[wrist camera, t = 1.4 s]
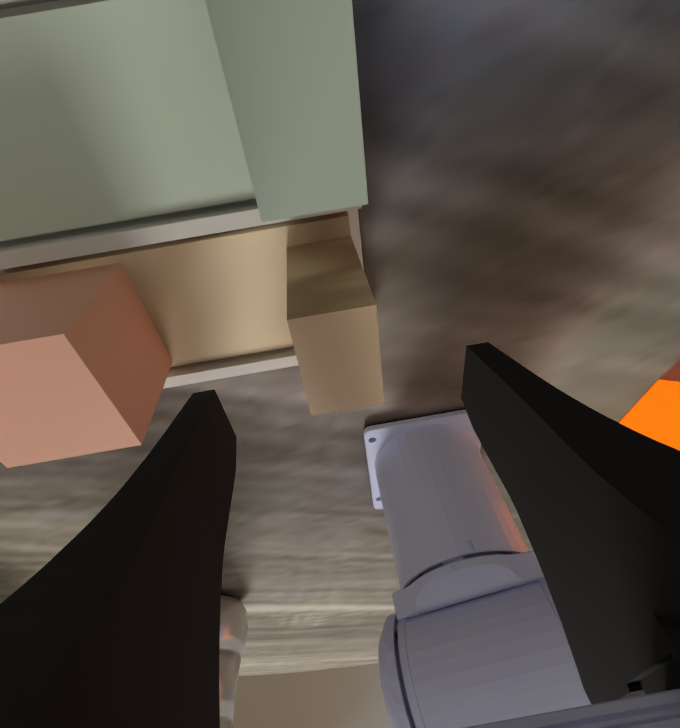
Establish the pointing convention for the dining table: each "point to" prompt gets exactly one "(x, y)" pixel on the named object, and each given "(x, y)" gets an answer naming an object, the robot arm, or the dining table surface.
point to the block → (76, 365)
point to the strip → (177, 111)
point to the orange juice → (658, 414)
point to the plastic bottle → (230, 654)
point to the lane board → (156, 229)
